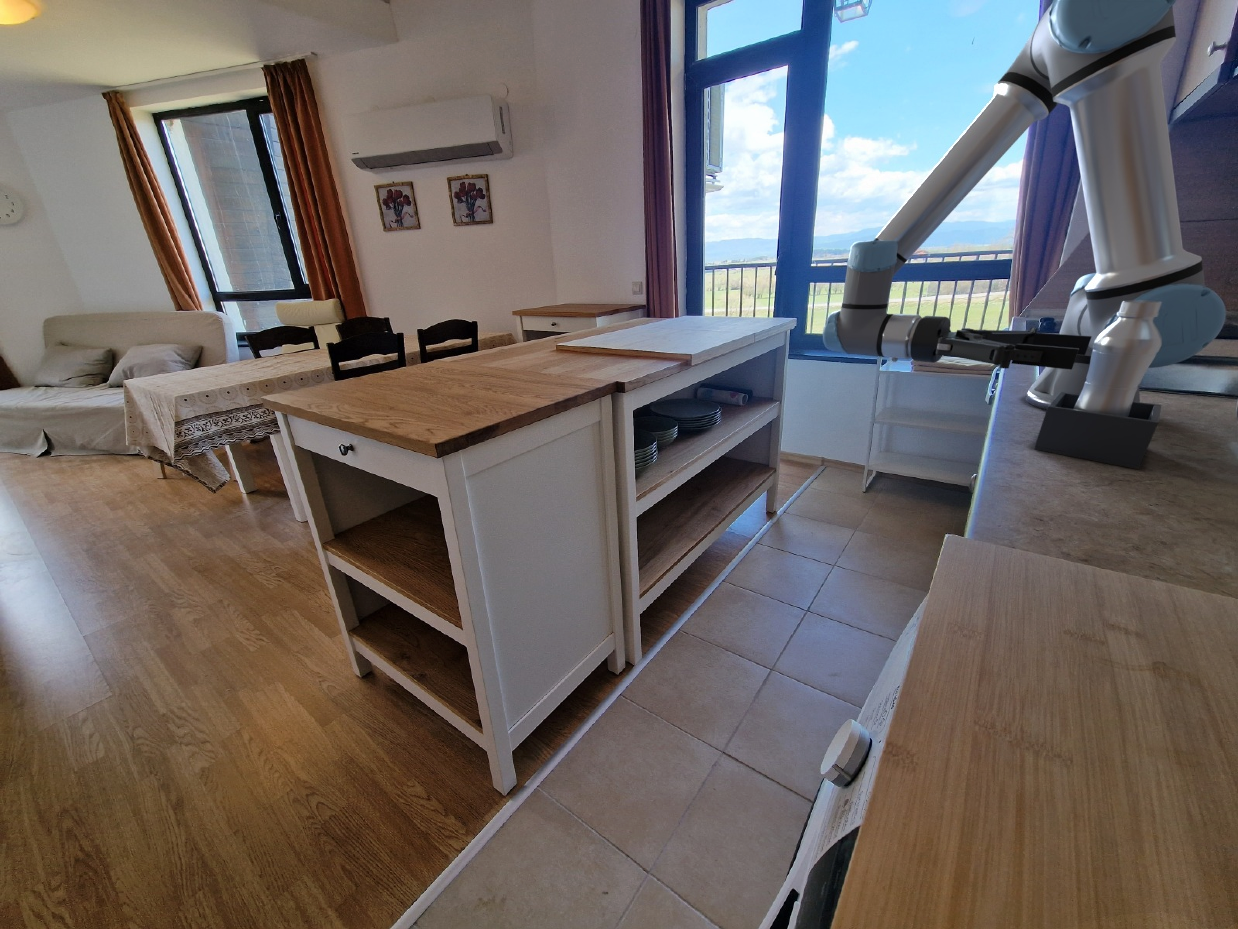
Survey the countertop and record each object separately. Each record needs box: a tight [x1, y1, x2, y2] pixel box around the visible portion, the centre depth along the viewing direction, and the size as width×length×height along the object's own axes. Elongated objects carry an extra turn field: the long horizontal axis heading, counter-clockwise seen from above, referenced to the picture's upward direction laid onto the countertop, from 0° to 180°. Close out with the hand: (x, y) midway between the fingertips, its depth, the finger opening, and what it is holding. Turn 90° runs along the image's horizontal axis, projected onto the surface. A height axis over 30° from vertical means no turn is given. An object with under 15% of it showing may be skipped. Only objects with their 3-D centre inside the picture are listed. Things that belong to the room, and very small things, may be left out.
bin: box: [1033, 392, 1162, 470], centre depth 69 cm, size 11×11×6 cm
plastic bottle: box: [1073, 300, 1162, 417], centre depth 67 cm, size 6×7×20 cm
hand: (1082, 351), depth 68 cm, fingers open, 13 cm apart
